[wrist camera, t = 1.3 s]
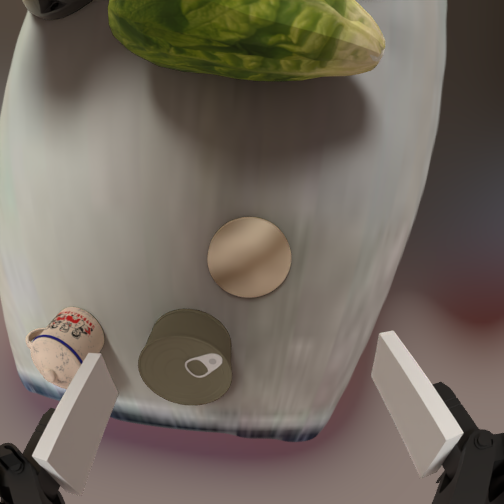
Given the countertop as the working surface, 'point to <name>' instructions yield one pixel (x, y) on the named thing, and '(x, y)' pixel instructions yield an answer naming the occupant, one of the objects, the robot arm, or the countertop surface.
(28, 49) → the countertop surface
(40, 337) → the teacup with lid
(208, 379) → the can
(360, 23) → the lettuce
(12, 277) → the countertop surface
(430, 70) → the countertop surface
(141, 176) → the countertop surface
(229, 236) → the beech coaster
